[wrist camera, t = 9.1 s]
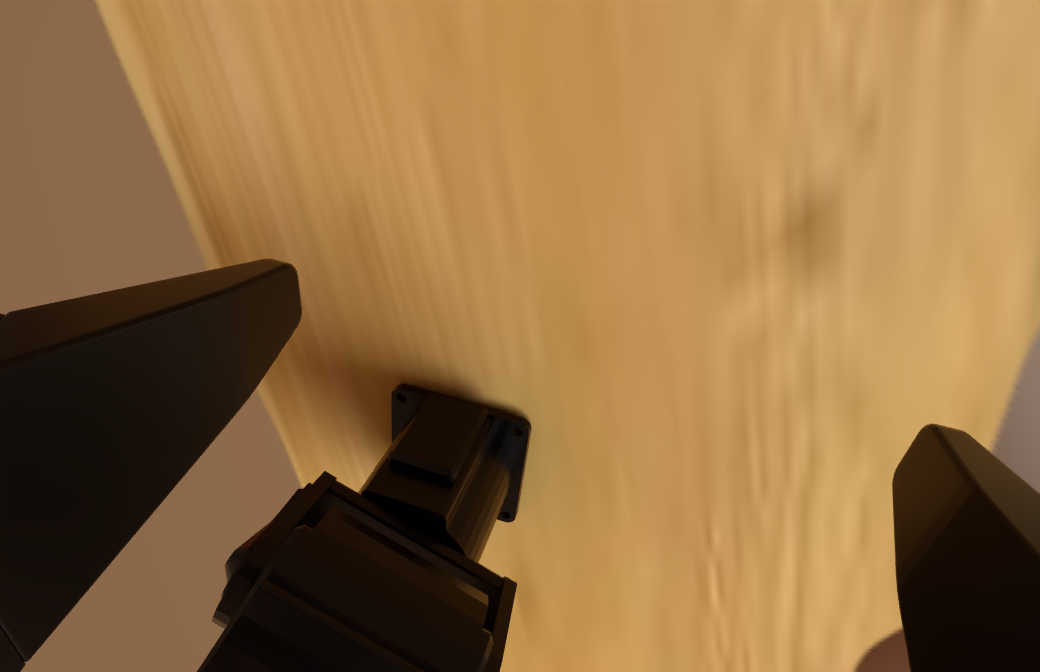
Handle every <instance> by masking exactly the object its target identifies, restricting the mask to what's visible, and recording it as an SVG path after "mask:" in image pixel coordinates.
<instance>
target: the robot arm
mask: <svg viewBox="0 0 1040 672" xmlns="http://www.w3.org/2000/svg"><path fill="white" fill-rule="evenodd" d="M301 314H302V307H301V299H300V290H299V282H298V274H297V271H296V269H295V267H294V266H293V265H292V264H289V263H286V262H282V261H278V260H274V259H262V260H257V261H253V262H248V263H243V264H238V265H233V266H228V267H224V268H219V269H214V270H209V271H204V272H200V273H195V274H190V275H185V276H180V277H175V278H171V279H166V280H161V281H156V282H152V283H147V284H142V285H137V286H132V287H127V288H123V289H118V290H113V291H108V292H103V293H99V294H94V295H89V296H84V297H80V298H75V299H70V300H65V301H60V302H55V303H50V304H45V305H41V306H36V307H31V308H26V309H21V310H17V311H12V312H9V313H7V314H6V315H4V314H0V672H20V671H21V670H22V669H23V667H24V666H25V662H27V661H29V660H30V659H31V657H32V656H33V655H34V654H35V653H36V651H37V650H38V649H39V648H40V647H41V646H42V644H43V643H44V642H45V641H46V639H47V638H48V637H49V636H50V635H51V634H52V632H53V631H54V630H55V629H56V628H57V626H58V625H59V624H60V623H61V622H62V621H63V619H64V618H65V617H66V615H68V613H69V612H70V611H71V610H72V609H73V607H74V606H75V605H76V604H77V603H78V601H79V600H80V599H81V598H82V597H83V596H84V594H85V593H86V592H87V591H88V590H89V588H90V587H91V586H92V585H93V584H94V582H95V581H96V580H97V579H98V578H99V577H100V575H101V574H102V573H103V572H104V571H105V569H106V568H107V567H108V566H109V565H110V563H111V562H112V561H113V560H114V559H115V557H116V556H117V555H118V554H119V553H120V551H121V550H122V549H123V548H124V547H125V546H126V544H127V543H128V542H129V541H130V540H131V538H132V537H133V536H134V535H135V534H136V532H137V531H138V530H139V529H140V528H141V526H142V525H143V524H144V523H145V522H146V520H147V519H148V518H149V517H150V516H151V515H152V513H153V512H154V511H155V510H156V508H157V507H158V506H159V505H160V504H161V503H162V501H163V500H164V499H165V498H166V497H167V496H168V494H169V493H170V492H171V491H172V490H173V488H174V487H175V486H176V485H177V484H178V482H179V481H180V480H181V479H182V478H183V476H184V475H185V474H186V473H187V472H188V470H189V469H190V468H191V467H192V466H193V465H194V463H195V462H196V461H197V460H198V459H199V457H200V456H201V455H202V454H203V453H204V451H205V450H206V449H207V448H208V447H209V446H210V444H211V443H212V442H213V441H214V439H215V438H216V437H217V436H218V435H219V434H220V432H221V431H222V430H223V429H224V428H225V427H226V425H227V424H228V423H229V422H230V421H231V419H232V418H233V417H234V416H235V415H236V413H237V412H238V411H239V410H240V408H241V407H242V406H243V405H244V404H245V402H246V401H247V400H248V399H249V397H250V396H251V394H252V393H253V392H254V390H255V389H256V387H257V386H258V385H259V383H260V382H261V380H262V379H263V377H264V376H265V374H266V373H267V371H268V370H269V368H270V367H271V365H272V364H273V362H274V361H275V359H276V358H277V356H278V355H279V353H280V352H281V350H282V349H283V347H284V346H285V344H286V343H287V341H288V340H289V338H290V337H291V335H292V334H293V332H294V331H295V329H296V328H297V326H298V324H299V322H300V319H301ZM402 394H404V395H405V396H406V397H404V396H403V395H402ZM516 427H519V428H521V429H522V430H518V429H517V428H516ZM530 434H531V424H530V423H529V422H528V421H527V420H526V419H524V418H522V417H519V416H515V415H512V414H508V413H505V412H501V411H498V410H494V409H491V408H487V407H484V406H480V405H477V404H473V403H470V402H466V401H463V400H459V399H456V398H452V397H449V396H445V395H442V394H438V393H435V392H431V391H428V390H424V389H420V388H417V387H413V386H410V385H406V384H399V385H398V386H397V387H396V388H395V389H394V391H393V392H392V444H391V446H390V447H389V449H388V450H387V451H386V453H385V454H384V456H383V457H382V459H381V460H380V462H379V463H378V465H377V466H376V467H375V469H374V470H373V472H372V473H371V475H370V476H369V478H368V479H367V481H366V482H365V483H364V485H363V486H362V488H361V489H360V491H359V492H358V493H357V492H355V491H354V490H352V489H350V488H349V487H347V486H345V485H343V484H342V483H340V482H338V481H337V480H336V479H337V478H336V477H334V476H333V475H331V474H329V473H328V472H326V471H324V472H323V473H322V475H321V476H320V477H319V478H318V479H317V480H316V481H315V482H314V483H313V484H311V483H308V484H307V485H306V486H305V487H304V488H303V489H298V490H297V491H296V492H295V494H294V495H293V496H292V497H291V499H290V500H289V501H288V502H287V504H286V505H285V506H284V507H283V508H282V510H281V511H280V512H279V513H278V514H277V515H276V517H275V518H274V519H273V520H272V521H271V522H270V523H269V524H267V525H266V526H265V527H263V528H262V529H261V530H260V531H258V532H257V533H256V534H255V535H253V536H252V537H251V538H250V539H248V540H247V541H246V542H245V543H243V544H242V545H241V546H240V547H238V548H237V549H236V550H235V551H234V552H233V554H232V555H231V556H230V557H229V559H228V560H227V562H226V564H225V569H226V577H227V585H226V587H225V589H224V591H223V593H222V599H221V601H220V603H219V605H218V607H217V609H216V611H215V613H214V616H213V620H212V622H214V623H215V624H217V625H219V626H221V627H222V628H224V629H225V630H224V631H223V633H222V634H221V636H220V637H219V639H218V640H217V642H216V644H215V645H214V647H213V648H212V650H211V651H210V653H209V654H208V656H207V657H206V659H205V660H204V662H203V663H202V665H201V666H200V668H199V669H198V671H197V672H500V668H501V663H502V659H503V654H504V649H505V644H506V638H507V633H508V628H509V623H510V618H511V613H512V607H513V602H514V597H515V592H516V587H517V583H516V582H514V581H512V580H511V579H509V578H507V577H506V576H505V577H504V578H503V577H501V576H499V575H498V574H496V573H494V572H492V571H491V570H489V569H487V568H486V567H484V566H482V565H480V564H479V563H478V562H479V560H480V558H481V555H482V553H483V550H484V548H485V546H486V543H487V541H488V538H489V536H490V534H491V531H492V529H493V526H494V524H495V522H496V519H498V520H501V521H504V522H512V521H514V520H515V518H516V515H517V512H518V507H519V501H520V495H521V489H522V483H523V477H524V471H525V465H526V459H527V453H528V446H529V440H530ZM892 490H893V515H894V540H895V565H896V582H897V593H898V600H899V608H900V614H901V620H902V626H903V631H904V637H905V642H906V649H907V655H908V661H909V666H910V672H1040V493H1039V492H1038V491H1036V490H1035V489H1034V488H1033V487H1031V486H1030V485H1029V484H1028V483H1027V482H1026V481H1024V480H1023V479H1022V478H1021V477H1020V476H1018V475H1017V474H1016V473H1015V472H1013V471H1012V470H1011V469H1010V468H1008V467H1007V466H1006V465H1005V464H1004V463H1002V462H1001V461H1000V460H999V459H998V458H997V457H995V456H994V455H993V454H992V453H991V452H989V451H988V450H987V449H986V448H985V447H983V446H982V445H981V444H980V443H978V442H977V441H976V440H975V439H974V438H972V437H971V436H970V435H969V434H967V433H966V432H964V431H961V430H958V429H954V428H950V427H946V426H941V425H937V424H929V425H926V426H924V427H923V428H922V429H921V430H920V432H919V433H918V435H917V436H916V438H915V439H914V441H913V442H912V444H911V446H910V447H909V449H908V450H907V452H906V454H905V455H904V457H903V458H902V460H901V461H900V463H899V465H898V466H897V468H896V470H895V473H894V477H893V483H892Z"/></svg>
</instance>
